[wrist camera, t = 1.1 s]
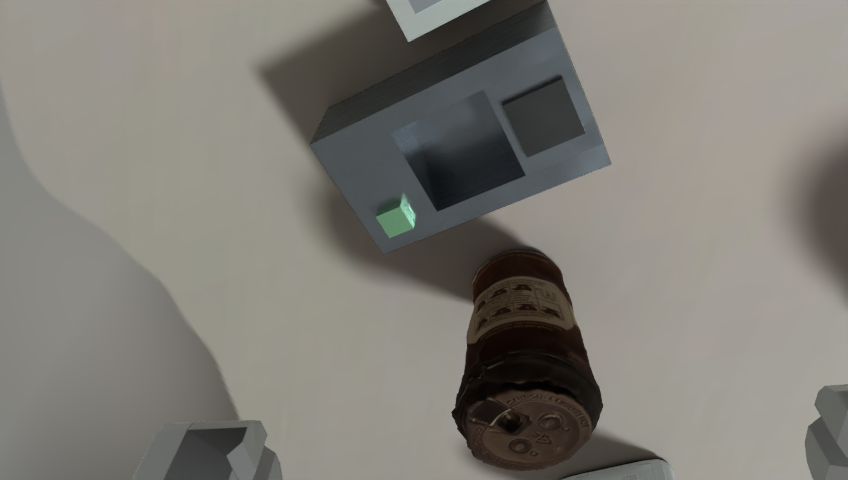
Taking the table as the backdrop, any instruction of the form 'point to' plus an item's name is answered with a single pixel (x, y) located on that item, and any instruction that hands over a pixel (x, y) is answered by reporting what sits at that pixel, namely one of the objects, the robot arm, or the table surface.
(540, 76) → the grey block with recess
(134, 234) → the table surface
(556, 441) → the coffee cup
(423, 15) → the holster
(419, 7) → the plug
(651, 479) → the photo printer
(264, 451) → the robot arm
